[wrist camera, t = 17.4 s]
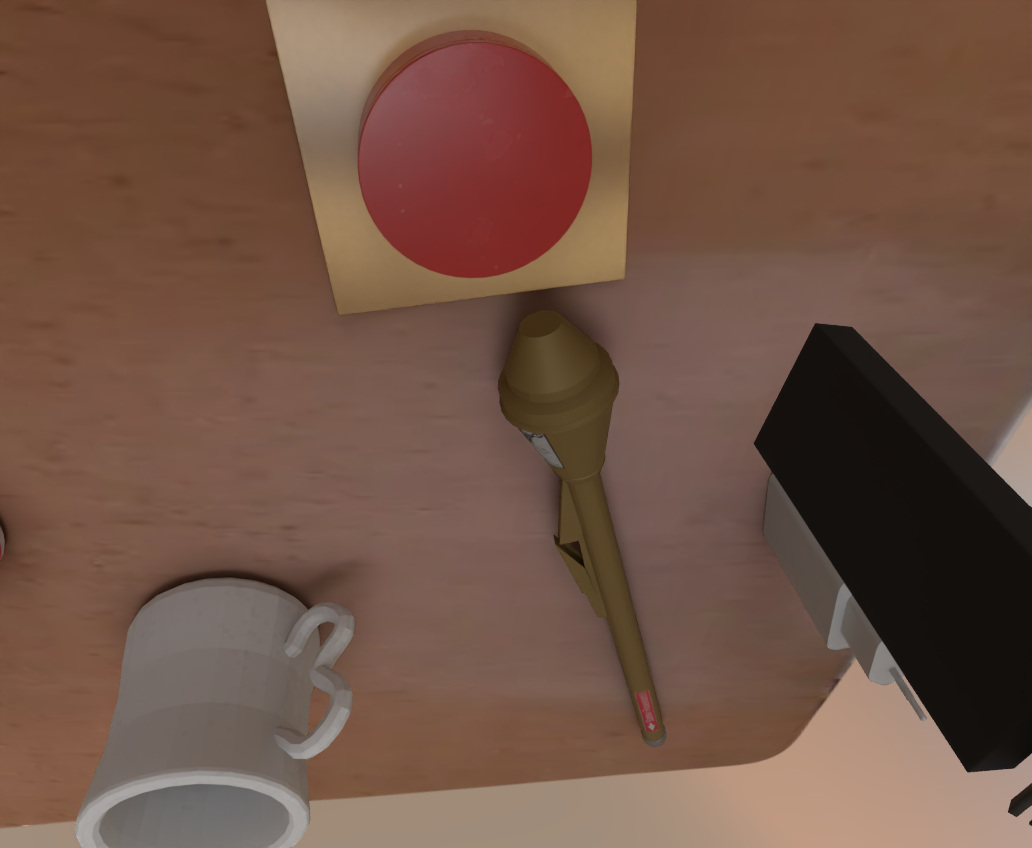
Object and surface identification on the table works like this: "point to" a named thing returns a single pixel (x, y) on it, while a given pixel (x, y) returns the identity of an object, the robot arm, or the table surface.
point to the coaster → (353, 73)
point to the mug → (217, 720)
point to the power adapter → (826, 592)
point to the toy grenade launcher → (579, 475)
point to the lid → (473, 154)
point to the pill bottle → (1, 543)
